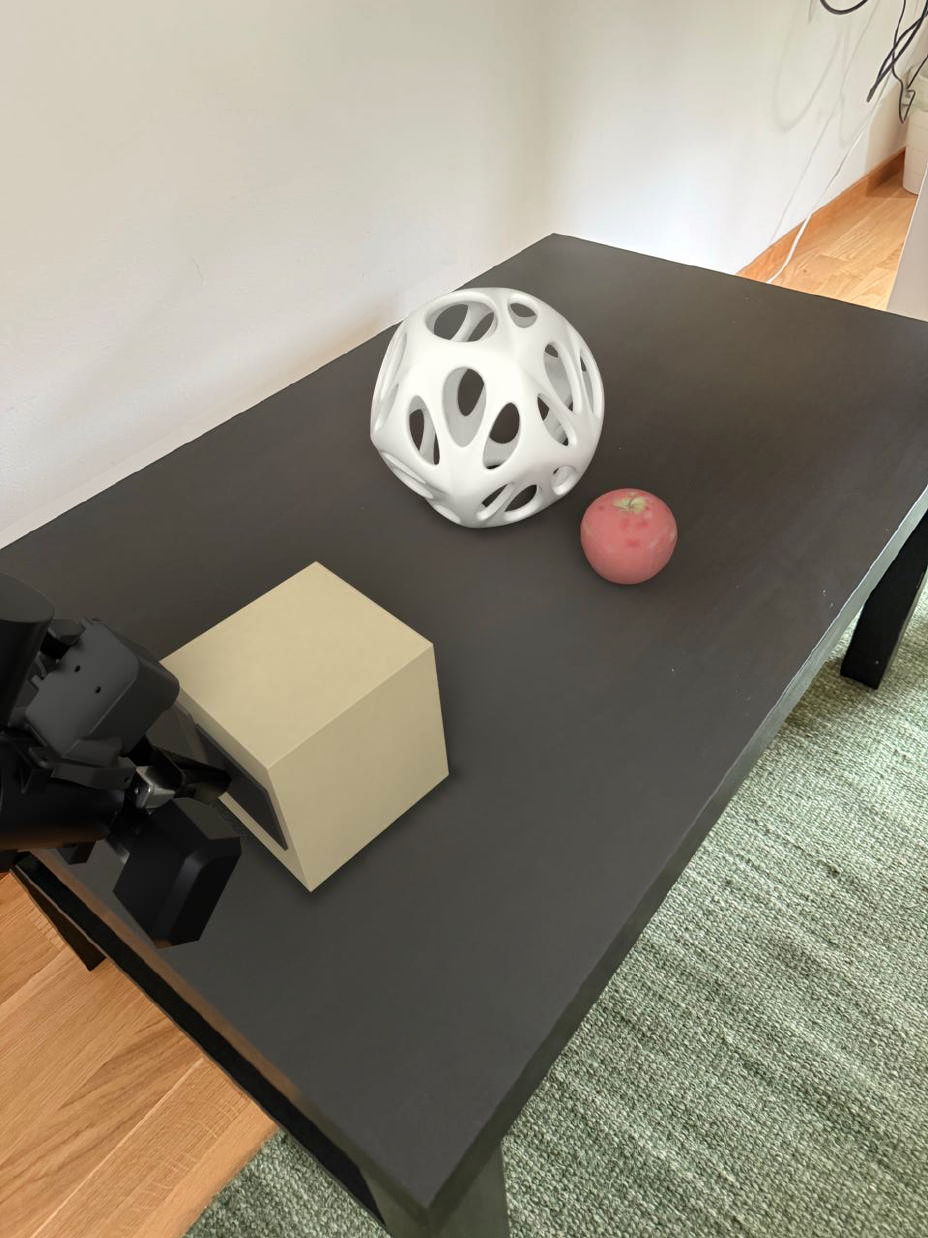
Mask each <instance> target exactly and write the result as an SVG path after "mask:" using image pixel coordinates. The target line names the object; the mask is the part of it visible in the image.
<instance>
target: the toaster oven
mask: <svg viewBox="0 0 928 1238" xmlns="http://www.w3.org/2000/svg"><path fill="white" fill-rule="evenodd" d="M158 661H159V662H160V663H161V664H162V665H163V666H164V667H165V668H166V669H167V670H169V671H170V672H171V673H172V674H173V675H175V677H176V678H177V679H178V681H179V684H180V691H179V695H178V697H177V699H176V701H175V702H174V703H173V705H172V706H171V707H172V709H173V711H174V713H175V716H176V718H177V720H178V724H180V727H181V729H182V731H183V733H184V736H185V739H186V741H187V743H188V746H189V747H190V750H191V752H192V754H193V756H194V758H195V759H194V760H196V761H199V762H201V763H204V764H207V765H210V766H213V767H216V768H219V769H222V770H224V771H225V772H226V773H227V774H228V775H229V776H230V777H231V778H232V781H231V783H230V785H229V787H228V789H227V791H226V792H225V793H224V794H223V795H221V796H220V797H218V798H217V799H219V800H220V801H221V803H222V804H224V805H225V807H227V809H229V810H230V812H231V813H232V814H233V815H234V816H236V818H237V819H238V820H240V822H241V823H242V824H243V825H244V826H245V827H246V828H247V829H248V830H249V831H250V832H251V834H253V836H255V837H256V838H257V839H258V840H259V842H261V844H263V845H264V847H266V848H267V849H268V850H269V851H270V852H271V853H272V854H273V856H274V857H276V859H278V860H279V862H280V863H281V864H282V865H283V866H284V867H286V869H287V870H288V871H290V873H291V874H292V875H293V876H294V877H295V878H296V879H297V880H298V881H299V882H300V883H301V884H302V885H303V886H304V887H305V888H306V889H307V890H308V891H309V892H310V893H312V892H313V891H314V890H315V889H317V888H318V887H319V886H320V885H321V884H322V883H323V882H324V881H326V880H327V879H328V878H330V876H332V875H333V874H334V873H335V872H337V870H339V869H340V868H341V867H342V866H343V865H345V864H346V863H347V862H348V861H350V859H352V858H353V857H354V856H355V855H356V854H358V853H359V852H360V851H361V850H362V849H363V848H365V847H366V846H367V845H368V844H369V843H370V842H372V841H373V840H374V839H375V838H376V837H378V836H379V835H380V834H381V833H382V832H384V831H385V830H386V829H387V828H388V827H389V826H391V825H392V824H393V823H394V822H395V821H396V820H397V819H399V818H400V817H401V816H402V815H403V814H405V813H406V812H407V811H409V809H410V808H412V807H413V806H414V805H415V804H417V802H418V801H420V800H421V799H423V797H425V796H426V795H427V794H428V793H430V792H431V791H432V790H433V789H434V788H435V787H436V786H438V785H439V784H440V783H441V782H443V780H445V779H446V778H447V777H448V776H449V775H450V773H449V764H448V756H447V749H446V748H447V746H446V740H445V738H446V737H445V732H444V730H445V729H444V725H443V724H444V721H443V715H442V706H441V698H440V690H439V682H438V681H439V680H438V673H437V664H436V657H435V649H434V644H433V642H431V641H429V639H427V638H425V637H424V636H422V635H421V634H420V633H418V632H417V631H415V630H414V629H413V628H412V627H410V626H409V625H408V624H406V623H405V622H403V621H401V620H400V619H398V618H397V617H396V616H394V615H393V614H391V612H388V611H387V610H386V609H384V608H383V606H380V605H379V604H377V603H376V602H374V601H373V600H372V599H370V598H369V597H368V596H366V595H365V594H363V593H362V592H361V591H359V590H358V589H356V588H354V587H353V586H352V585H350V584H349V583H348V582H346V581H345V580H344V579H342V578H340V577H339V576H338V575H337V574H335V573H334V572H333V571H331V570H330V569H328V568H327V567H325V566H324V565H322V564H321V563H319V562H318V561H314V562H312V563H310V564H309V565H308V566H306V567H304V568H303V569H301V570H300V571H298V572H297V573H295V574H294V575H292V576H291V577H289V578H288V579H286V580H284V581H283V582H281V583H280V584H278V585H277V586H275V587H274V588H272V589H271V590H269V591H267V592H266V593H264V594H263V595H261V596H259V597H257V598H256V599H254V600H253V601H252V602H250V603H249V604H247V605H246V606H243V607H242V608H240V609H239V610H237V611H236V612H235V613H232V614H231V615H230V616H228V617H226V618H225V619H223V620H222V621H220V622H219V623H217V624H216V625H214V626H212V627H211V628H209V629H208V630H207V631H205V632H203V633H202V634H200V635H199V636H197V637H195V638H193V639H192V640H190V641H189V642H188V643H186V644H184V645H183V646H181V647H179V648H178V649H177V650H175V651H173V652H172V653H170V654H168V655H167V656H166V657H163V659H161V660H158Z"/></svg>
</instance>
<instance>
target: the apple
mask: <svg viewBox="0 0 928 1238" xmlns="http://www.w3.org/2000/svg"><path fill="white" fill-rule="evenodd" d="M580 522H581V523H580V529H579V530H580V542H581V546H582V549H583V552H584V555H585V557H586V559H587V561H588V563H589V564H590V565H591V567H592V569H593V570H594V571H595V572H596V573H597V574H598V575H599V576H601V578H603V579H604V580H606V581H608V582H611V583H614V584H617V585H637V584H641V583H643V582H645V581H648V580H651V579H652V578H653V577H655V576H656V575H657V574H658V573H660V572H661V570H662V569H663V568H664V567H665V566H666V565H667V564H668V562H669V561H670V559H671V557H672V555H673V552H674V551H675V550H674V549H675V548H676V545H677V541H678V527H677V522H676V519H675V517H674V515H673V513H672V510H671V509H670V507H668V505H667V504H666V503H665V502H664V501H663V500H662V499H661V498H659V497H658V496H656V495H655V494H653V493H651V492H649V491H646V490H642V489H638V488H618V489H615V490H614V489H613V490H611V491H609V492H606V493H604V494H602V495H600V496H599V497H597V498H596V499H595V500H594V501H593V502H592V503H591V504H590V505H589V506H588V507H587V508H586V510H585V512H584V514H583V517H582V520H581V521H580Z"/></svg>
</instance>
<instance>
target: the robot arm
mask: <svg viewBox="0 0 928 1238" xmlns="http://www.w3.org/2000/svg"><path fill="white" fill-rule="evenodd" d="M54 616H55V607H54V604H53V603H52V601H51V600H50V598H48V597H47V596H46V595H45V594H43V592H41V591H40V590H38V589H37V588H35V587H34V586H32V585H31V584H28V583H26V582H25V581H23V580H21V579H20V578H17V577H15V576H13V575H10V574H9V573H7V572H4V571H1V570H0V874H6V873H9V872H10V870H11V868H12V866H13V864H14V861H15V859H16V856H17V854H18V853H20V852H21V853H23V852H31V851H32V852H33V851H40V850H50V849H51V850H52V849H55V850H56V851H57V852H58V854H59V855H60V856H61V857H62V859H63V860H64V861H65V862H66V864H67V865H68V866H71V865H81V864H87V863H88V861H89V858H90V856H91V854H92V852H93V850H94V848H95V845H96V843H97V841H99V842H100V841H104V842H105V843H106V844H107V846H108V847H109V848H110V849H111V850H112V852H113V853H114V854H115V855H116V856H117V858H118V859H119V860H120V861H121V862H122V864H123V867H122V870H121V872H120V874H119V875H118V878H117V880H116V882H115V884H114V887H113V889H112V891H111V892H112V893H113V895H114V896H115V898H116V899H117V901H118V902H119V904H120V905H121V906H122V907H123V909H124V910H125V911H126V913H128V915H129V916H130V917H131V919H132V920H133V921H134V922H135V924H136V925H137V926H138V927H139V929H140V930H141V931H142V932H143V934H144V935H145V936H146V937H147V938H148V940H149V941H150V942H151V943H152V945H153V946H154V947H155V948H156V950H160V949H166V948H172V947H177V946H181V945H185V944H190V943H195V942H198V941H200V939H201V937H202V935H203V933H204V931H205V929H206V927H207V925H208V923H209V921H210V919H211V917H212V914H213V913H214V912H215V909H216V907H217V904H218V902H219V901H220V899H221V897H222V894H223V893H224V891H225V888H226V887H227V885H228V882H229V880H230V878H231V877H232V874H233V872H234V870H235V868H236V866H237V865H238V862H239V860H240V858H241V856H242V854H243V853H242V845H241V837H240V835H238V833H237V832H235V830H234V829H233V828H231V826H230V825H229V824H228V823H227V822H226V820H224V819H223V818H222V817H221V816H220V815H219V814H218V813H217V812H216V811H215V810H214V809H213V808H212V806H210V804H212V802H214V801H216V800H217V799H219V798H218V797H220V796H221V795H223V794H224V793H225V792H226V791H227V789H228V787H229V785H230V783H231V781H232V778H231V777H230V776H229V775H228V774H227V773H226V772H225V771H224V770H222V769H219V768H216V767H213V766H210V765H207V764H204V763H201V762H199V761H196V759H193V758H190V757H188V756H185V755H181V754H178V753H176V752H172V751H170V750H167V749H164V748H162V747H160V746H157V745H155V744H153V743H151V742H150V740H149V738H148V736H147V732H148V731H149V730H150V728H152V726H153V725H154V724H155V722H156V721H158V719H159V717H161V715H162V714H163V713H164V712H165V711H166V712H167V711H169V709H171V707H172V705H173V703H174V702H175V701H176V699H177V697H178V695H179V691H180V684H179V681H178V679H177V678H176V677H175V675H173V674H172V673H171V672H170V671H169V670H167V669H166V668H165V667H164V666H163V665H162V664H161V663H160V662H159V661H160V660H158V659H157V658H156V657H155V656H153V655H152V654H151V652H150V651H149V650H148V649H147V648H145V647H144V646H142V645H140V644H138V643H137V642H135V641H133V640H132V639H130V638H129V637H126V636H124V635H123V634H122V633H119V632H117V630H114V629H113V628H112V627H111V626H110V625H109V624H107V622H105V620H103V619H102V618H101V617H94V618H91V619H90V618H88V617H86V616H83V617H82V618H81V619H80V621H79V620H77V619H73V618H54Z"/></svg>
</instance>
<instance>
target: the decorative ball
mask: <svg viewBox="0 0 928 1238" xmlns="http://www.w3.org/2000/svg"><path fill="white" fill-rule="evenodd" d="M513 304H517V305H518V304H519V305H522V306H525V307H527V308H528V309H530V310H531V311H532V312H533V313H534V314H535V315H531V316H526V317H525V316H520V315H517V314H516V313H515V312H514V311H513V309H512V306H511V305H513ZM457 305H465V306H467V312H466V315H465V317H464V320H463V322H462V324H461V326H460V327H459V329H458V331H457V332H456V333H455V334H454V336H453V337H452V338H450V339H446V338H443V337H441V336H438V335H436V334H435V331H434V330H435V324H436V321H437V319H438V318H439V317H440V315H441V314H442V313H443V312H445V310H448V309H449V308H451V307H454V306H457ZM491 313H492V314H493V319H492V322H491V324H490V327H489V328H488V329H487V331H486V332H485V333H484V334H483V336H482V337H480V338H479V339H478V340H474V341H469V339H470V338H471V335H472V334H473V332H474V331H475V329H476V328H477V326H478V325H479V324H480V323H481V321H482V320H483V319H484V318H485V317H486V316H487V315H489V314H491ZM548 345H549V346H552V348H554V350H555V351H556V353H557V357H556V356H553V355H552V354H549V353H548V352H547V351H546V348H547V346H548ZM581 360H582V362H583V364H584V366H585V371H584V370H582V364H581V363H582V362H581ZM468 370H472V371H474V372H475V373H477V374H478V375H479V377H481V379H482V382H483V386H482V389H481V393H480V395H479V397H478V400H477V402H476V404H475V406H474V408H473V409H472V411H471V412H470V413H469V414H468V415H464V414H463V413H462V412H461V410H460V407H459V389H460V384H461V382H462V380H463V378H464V376H465V374H466V373H467V371H468ZM538 398H539V399H540V400H541V401H542V402H543V403H544V404H545V405H546V406H547V408H548V412H547V415H546V416H545V418H544V419H543V417H542V415H541V412H540V408H539V401H538ZM605 402H606V401H605V390H604V383H603V379H602V375H601V373H600V370H599V367H598V364H597V362H596V358H595V357H594V355H593V353H592V351H591V349H590V347H589V346H588V344H587V343H586V341H585V340H584V338H583V337H582V336H581V334H580V333H579V332H578V330H577V329H576V328H575V327H574V326H573V325H572V324H571V323H570V322H569V321H568V320H567V319H566V318H565V317H564V316H563V315H562V314H561V313H559V312H558V311H557V310H556V309H555V308H554V307H552V306H550V305H549V304H548V303H546V302H545V301H543V300H541V299H540V298H537V297H536V296H534V295H532V294H529V293H527V292H524V291H521V290H518V289H514V288H508V287H471V288H470V287H469V288H462V289H459V290H455V291H451V292H447V293H444V294H441V295H439V296H437V297H434V298H432V299H429V300H428V301H426V302H425V303H422V304H421V305H419V306H418V307H416V308H415V309H413V310H412V311H410V312H409V314H408V315H407V316H406V317H405V318H404V319H403V321H402V322H401V323H400V324H399V325H398V327H397V329H396V331H395V332H394V334H393V336H392V337H391V339H390V341H389V343H388V346H387V349H386V352H385V354H384V357H383V359H382V362H381V366H380V368H379V371H378V375H377V378H376V382H375V387H374V391H373V396H372V401H371V408H370V409H371V410H370V422H369V423H370V425H369V427H370V428H369V429H370V430H369V431H370V435H369V436H370V441H371V442H372V444H373V446H374V447H375V449H376V450H377V452H378V454H379V456H380V457H381V458H382V460H383V461H384V463H385V465H386V466H387V467H388V469H389V470H390V471H391V472H392V473H393V474H394V475H395V476H396V477H397V478H398V480H400V481H401V483H403V484H404V485H405V486H407V487H408V488H409V489H411V490H412V491H413V492H415V493H416V494H418V495H419V496H422V497H423V498H424V499H425V500H426V502H427V503H428V504H429V505H430V506H431V507H432V508H433V509H434V510H435V511H436V512H438V513H439V514H440V515H441V516H442V517H445V519H448V520H449V521H450V522H453V523H455V524H457V525H459V526H462V527H465V528H470V529H484V528H485V529H487V528H494V527H501V526H506V525H510V524H514V523H517V522H520V521H522V520H525V519H528V518H529V517H532V516H534V515H536V514H537V513H540V512H541V511H543V510H545V509H547V508H548V507H550V506H551V505H553V504H554V503H556V502H557V501H559V500H560V499H562V498H564V497H565V496H566V495H568V494H569V493H570V491H571V490H573V488H574V487H575V486H576V485H577V484H578V482H579V481H580V480H581V478H582V477H583V475H584V474H585V472H586V471H587V469H588V467H589V465H590V463H591V462H592V459H593V458H594V455H595V452H596V450H597V448H598V444H599V441H600V438H601V433H602V429H603V424H604V417H605V405H606V404H605ZM508 404H512V405H514V406H515V408H516V409H517V412H518V415H519V422H518V431H517V433H516V435H515V437H514V438H513V439H512V440H510V441H508V442H506V443H500V442H496V441H494V440H493V439H492V438H491V437H490V435H491V432H492V430H493V427H494V425H495V423H496V421H497V419H498V417H499V415H500V413H501V412H502V410H503V409H504V408H505V407H506V406H507V405H508ZM571 404H572V410H571V409H569V407H570V406H571ZM417 410H421V412H422V414H423V426H424V427H423V434H422V439H421V443H420V446H419V449H418V447H417V446H416V443H415V442H414V439H413V436H412V433H411V428H410V426H411V425H410V424H411V423H410V417H411V414H413V413H414V412H415V411H417ZM436 438H437V445H438V451H439V461H438V464H435V459H434V453H435V452H434V451H435V441H436ZM566 440H567V442H568V444H567V445H564V443H565V441H566ZM493 466H496V467H495V468H491V469H490V467H493ZM534 485H535V486H536V491H535V494H534V496H533V498H531V499H530V500H529V502H527V503H526V504H524V505H522V506H521V507H518V508H515V509H512V510H508V511H507V508H508V507H509V505H510V504H511V503H512V501H513V500H514V499H515V498H516V497H517V496H518V495H519V494H520V493H522V491H524V490H525V489H527V488H529V487H531V486H534ZM502 487H504V489H503V490H502V491H501V492H500V494H498V495H497V497H496V498H495V499H494V500H493V501H492V502H491V503H490V504H489V505H487V506H485V505H484V504H483V502H484V501H485V500H486V499H488V498H489V496H490V495H492V494H493V493H495V492H496V491H497V490H500V488H502Z"/></svg>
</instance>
